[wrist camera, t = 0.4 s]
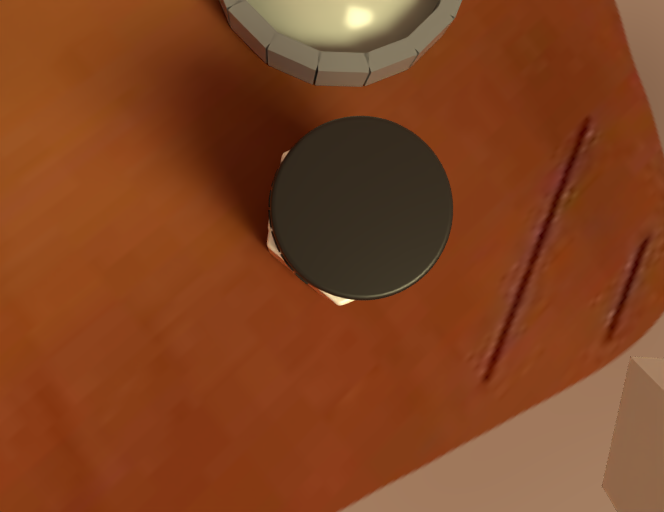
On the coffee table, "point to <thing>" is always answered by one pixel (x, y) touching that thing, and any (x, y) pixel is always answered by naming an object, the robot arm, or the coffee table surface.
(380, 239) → the jar
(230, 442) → the coffee table surface
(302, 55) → the ring dish
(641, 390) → the robot arm
